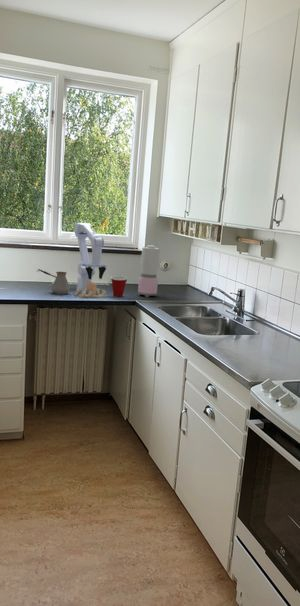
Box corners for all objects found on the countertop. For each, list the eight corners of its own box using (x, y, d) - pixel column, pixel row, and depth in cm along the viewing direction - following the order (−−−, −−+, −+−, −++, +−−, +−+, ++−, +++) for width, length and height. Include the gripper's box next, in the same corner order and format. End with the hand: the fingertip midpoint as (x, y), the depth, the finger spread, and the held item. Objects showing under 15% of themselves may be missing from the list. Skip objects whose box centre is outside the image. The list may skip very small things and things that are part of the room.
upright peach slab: (85, 292, 313) (86, 281, 312) (89, 292, 315) (89, 281, 313) (92, 295, 307) (93, 283, 306) (96, 295, 309) (96, 283, 307)
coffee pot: (65, 291, 319) (66, 267, 316) (73, 294, 310) (74, 270, 307) (32, 292, 307) (33, 267, 304) (40, 295, 298) (41, 270, 295)
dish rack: (74, 294, 310) (74, 288, 309) (97, 293, 321) (98, 287, 320) (83, 298, 302) (83, 292, 301) (107, 296, 312) (107, 291, 311)
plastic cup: (105, 295, 315) (107, 276, 313) (114, 293, 325) (116, 275, 322) (120, 298, 310) (122, 279, 308) (129, 296, 320) (131, 277, 318)
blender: (149, 298, 319) (153, 247, 313) (133, 294, 326) (137, 244, 319) (162, 295, 332) (167, 246, 326) (147, 292, 339) (151, 244, 332)
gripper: (89, 258, 306) (88, 280, 309) (109, 258, 315) (108, 279, 318) (83, 256, 312) (82, 278, 314) (103, 256, 321) (102, 277, 323)
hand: (95, 278), depth 317 cm, fingers open, 7 cm apart
